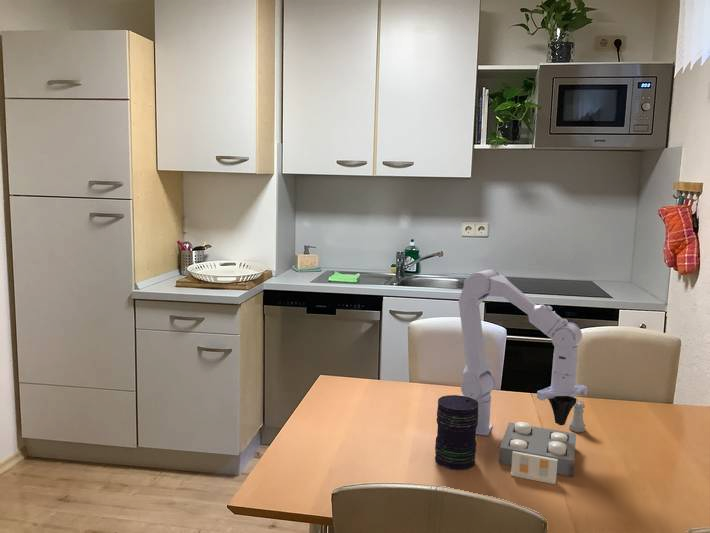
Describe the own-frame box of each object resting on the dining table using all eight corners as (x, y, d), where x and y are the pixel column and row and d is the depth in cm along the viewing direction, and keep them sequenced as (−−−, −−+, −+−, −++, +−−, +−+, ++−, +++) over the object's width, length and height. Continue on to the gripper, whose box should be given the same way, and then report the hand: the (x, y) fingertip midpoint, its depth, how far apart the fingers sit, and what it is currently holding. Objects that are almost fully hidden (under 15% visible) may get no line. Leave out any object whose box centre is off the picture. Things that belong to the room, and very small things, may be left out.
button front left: (508, 456, 150) (509, 444, 149) (510, 450, 153) (511, 438, 153) (525, 459, 148) (526, 447, 148) (527, 453, 152) (527, 441, 151)
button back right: (549, 449, 155) (550, 437, 154) (550, 443, 158) (551, 431, 158) (566, 452, 153) (567, 440, 153) (566, 445, 157) (567, 434, 157)
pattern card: (510, 475, 142) (511, 454, 142) (512, 470, 145) (513, 449, 144) (555, 484, 139) (557, 462, 138) (556, 478, 142) (557, 457, 141)
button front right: (547, 459, 146) (548, 446, 146) (548, 452, 150) (549, 440, 150) (564, 462, 145) (565, 449, 144) (565, 455, 149) (566, 443, 148)
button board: (498, 462, 149) (499, 447, 148) (508, 436, 164) (509, 422, 164) (572, 476, 143) (574, 460, 142) (575, 448, 158) (576, 433, 158)
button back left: (513, 438, 158) (514, 426, 157) (515, 432, 162) (516, 420, 161) (529, 441, 156) (530, 429, 156) (531, 435, 160) (531, 423, 160)
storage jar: (450, 473, 142) (453, 412, 140) (426, 456, 151) (429, 398, 149) (484, 465, 147) (487, 406, 145) (459, 449, 156) (462, 392, 154)
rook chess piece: (586, 433, 168) (588, 405, 167) (569, 431, 169) (571, 404, 168) (583, 427, 172) (586, 400, 171) (567, 425, 173) (569, 398, 172)
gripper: (552, 379, 147) (548, 433, 149) (598, 373, 152) (593, 425, 154) (532, 371, 153) (529, 422, 155) (577, 365, 159) (573, 415, 161)
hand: (559, 423), depth 155 cm, fingers closed
